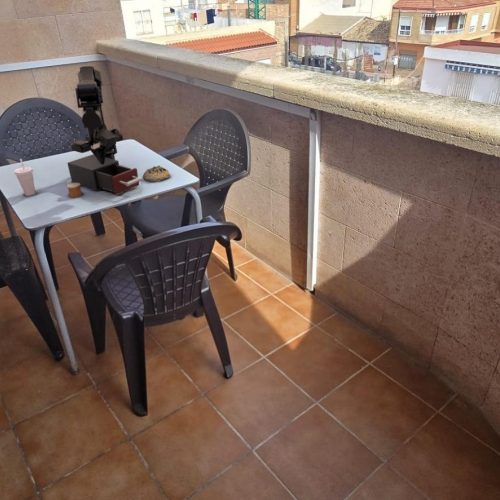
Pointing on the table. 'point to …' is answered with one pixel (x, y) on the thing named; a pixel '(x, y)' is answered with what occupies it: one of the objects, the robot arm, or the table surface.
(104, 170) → the drawer
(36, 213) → the table surface
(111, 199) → the table surface
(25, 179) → the smoothie
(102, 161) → the robot arm
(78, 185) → the cylinder
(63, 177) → the table surface
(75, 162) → the drawer box with handle
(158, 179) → the bread roll
